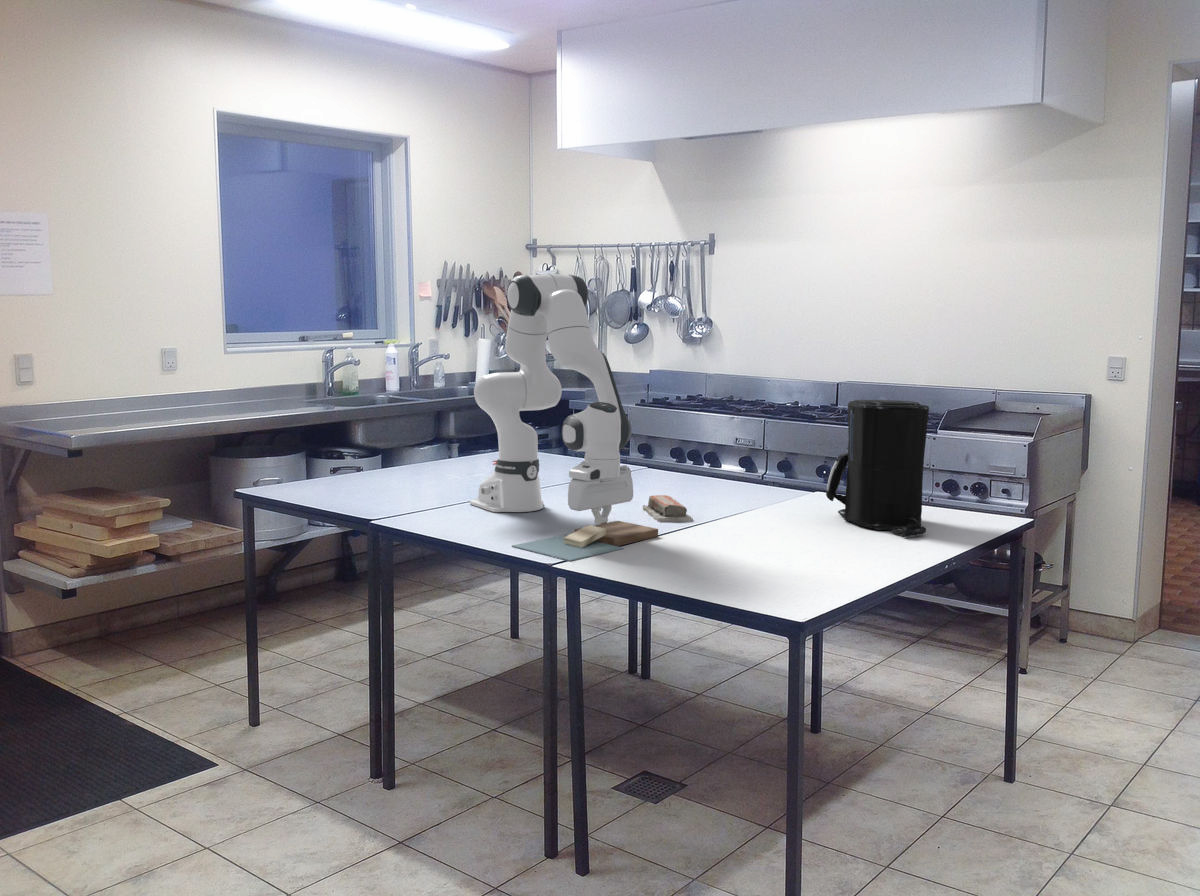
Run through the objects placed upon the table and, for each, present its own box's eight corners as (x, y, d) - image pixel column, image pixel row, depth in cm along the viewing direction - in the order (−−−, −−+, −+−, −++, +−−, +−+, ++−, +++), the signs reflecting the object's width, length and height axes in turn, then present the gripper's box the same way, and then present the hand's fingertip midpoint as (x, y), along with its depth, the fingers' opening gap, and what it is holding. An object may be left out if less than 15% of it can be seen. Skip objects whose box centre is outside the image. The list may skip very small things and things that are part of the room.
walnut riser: (574, 537, 262) (574, 529, 261) (617, 528, 273) (617, 520, 273) (615, 546, 252) (615, 538, 252) (658, 536, 264) (658, 528, 263)
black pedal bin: (876, 510, 302) (882, 394, 298) (965, 531, 274) (972, 404, 270) (816, 517, 291) (821, 397, 287) (902, 540, 263) (909, 407, 259)
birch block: (581, 547, 249) (580, 541, 249) (564, 543, 253) (563, 537, 253) (607, 534, 255) (606, 528, 255) (589, 530, 259) (588, 524, 259)
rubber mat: (511, 546, 251) (511, 545, 251) (565, 535, 264) (565, 534, 263) (570, 561, 237) (570, 560, 237) (623, 548, 250) (623, 547, 250)
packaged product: (641, 494, 299) (675, 493, 301) (641, 510, 299) (674, 509, 301) (658, 506, 281) (693, 505, 283) (657, 523, 282) (693, 522, 284)
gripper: (621, 462, 266) (620, 515, 268) (564, 471, 251) (563, 527, 253) (639, 466, 262) (638, 519, 264) (582, 475, 247) (581, 531, 249)
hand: (601, 523), depth 258 cm, fingers closed
